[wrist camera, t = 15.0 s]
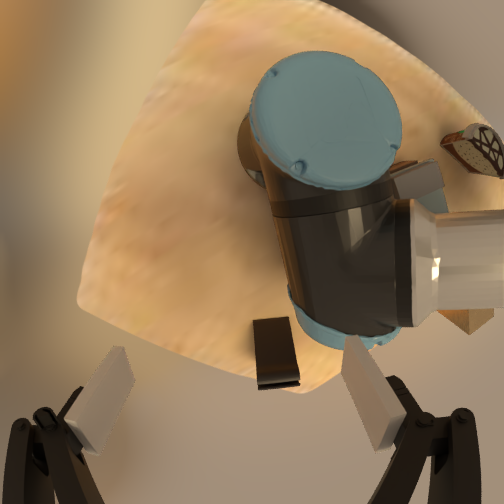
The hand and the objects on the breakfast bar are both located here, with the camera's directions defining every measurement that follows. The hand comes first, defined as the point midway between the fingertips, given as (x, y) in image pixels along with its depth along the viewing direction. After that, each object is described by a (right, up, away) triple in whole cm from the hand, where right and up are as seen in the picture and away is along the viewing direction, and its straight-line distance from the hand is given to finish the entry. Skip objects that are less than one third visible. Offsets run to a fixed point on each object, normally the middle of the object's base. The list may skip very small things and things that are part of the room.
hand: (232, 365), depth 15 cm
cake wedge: (+40, +26, +24) cm, 54 cm away
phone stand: (+5, -9, +32) cm, 34 cm away
